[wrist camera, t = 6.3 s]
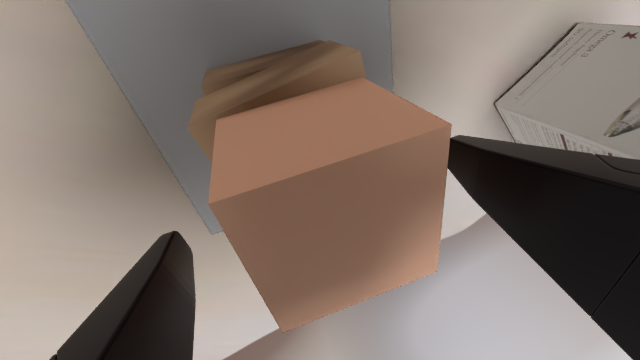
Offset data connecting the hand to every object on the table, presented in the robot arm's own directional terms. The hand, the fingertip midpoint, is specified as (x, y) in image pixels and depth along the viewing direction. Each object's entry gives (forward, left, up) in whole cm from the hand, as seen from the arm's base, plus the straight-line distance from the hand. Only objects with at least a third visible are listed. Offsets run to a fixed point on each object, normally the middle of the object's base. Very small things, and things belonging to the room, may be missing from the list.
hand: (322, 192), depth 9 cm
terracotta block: (0, 0, -2) cm, 2 cm away
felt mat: (0, 0, -9) cm, 9 cm away
